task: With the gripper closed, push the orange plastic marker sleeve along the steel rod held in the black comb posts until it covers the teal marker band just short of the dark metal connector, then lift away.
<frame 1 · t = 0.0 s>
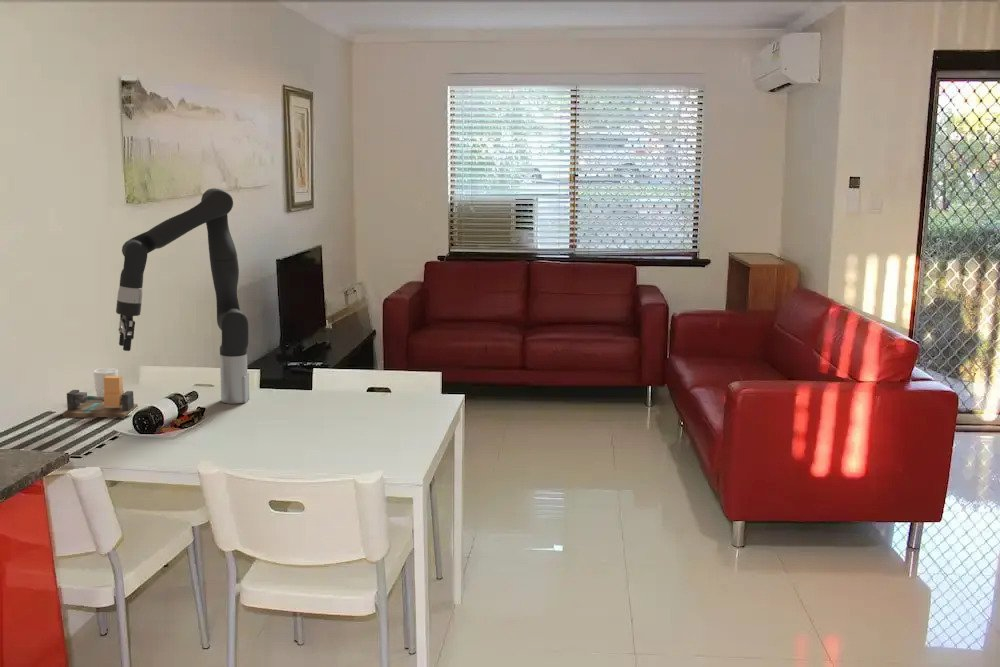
hand: (124, 348, 300), 22 cm above the table, tool pointing down, fingers open, 8 cm apart
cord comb: (101, 412, 303), on the table
white cup: (107, 398, 321), on the table
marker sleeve: (113, 390, 302), point 8 cm above the table, slide at 0.0 cm
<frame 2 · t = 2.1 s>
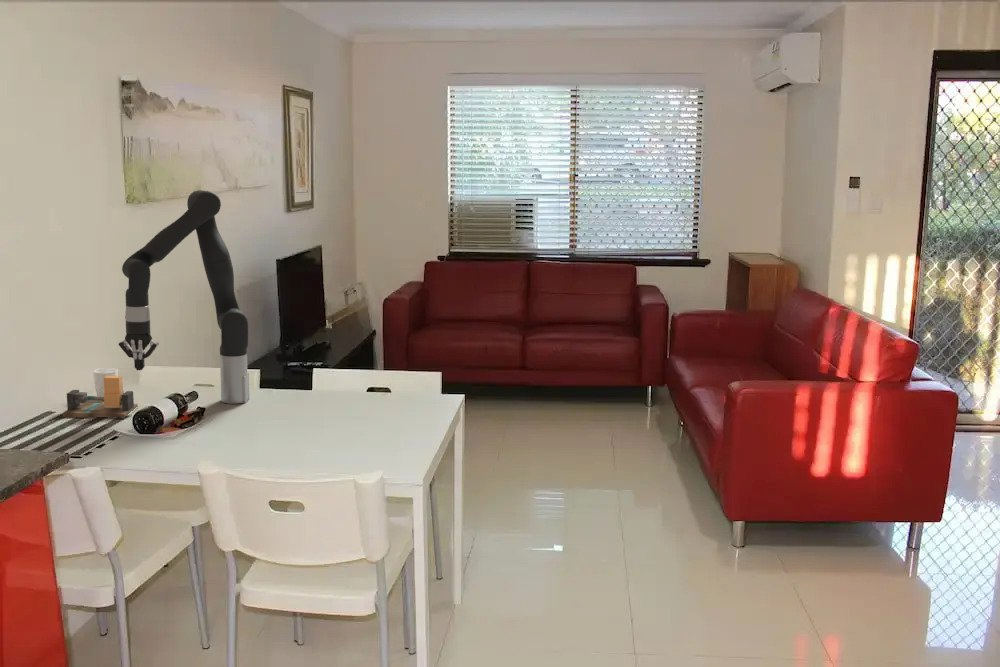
hand: (139, 369, 301), 15 cm above the table, tool pointing down, fingers closed
nothing on the table moved.
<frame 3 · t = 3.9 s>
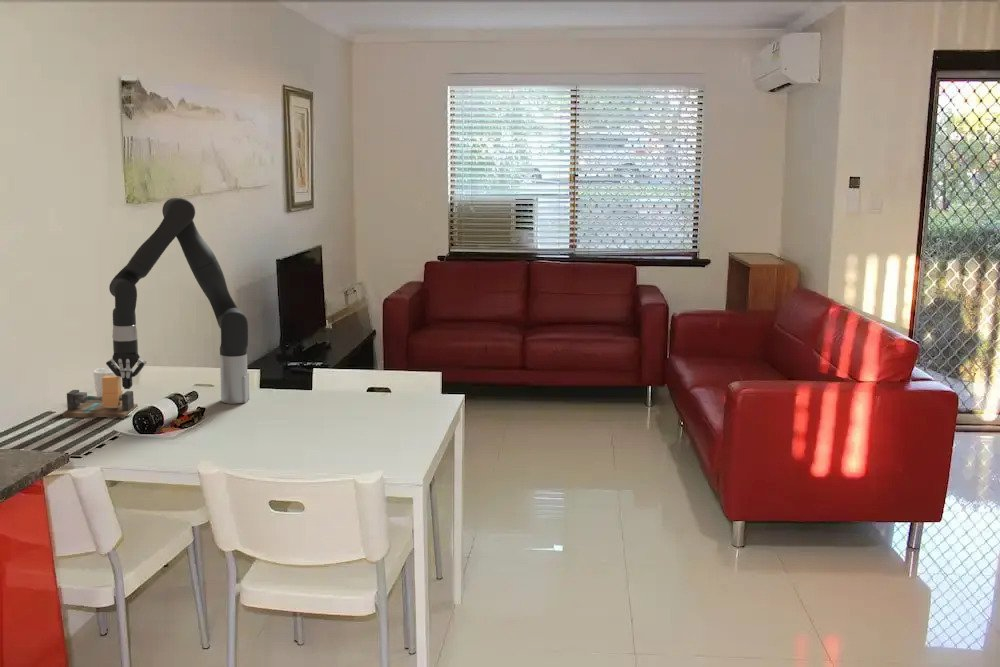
hand: (127, 388, 302), 9 cm above the table, tool pointing down, fingers closed
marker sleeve: (112, 390, 302), point 8 cm above the table, slide at 0.5 cm, touching gripper
everything else where it was.
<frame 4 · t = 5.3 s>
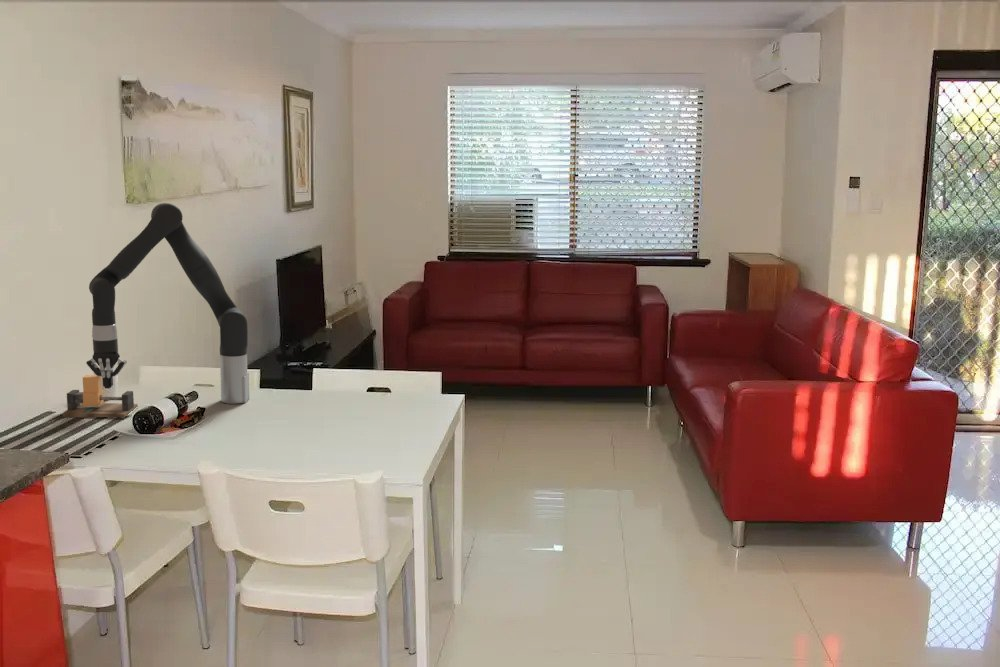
hand: (108, 387, 301), 9 cm above the table, tool pointing down, fingers closed
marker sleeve: (92, 390, 302), point 8 cm above the table, slide at 6.9 cm, touching gripper
everything else where it was.
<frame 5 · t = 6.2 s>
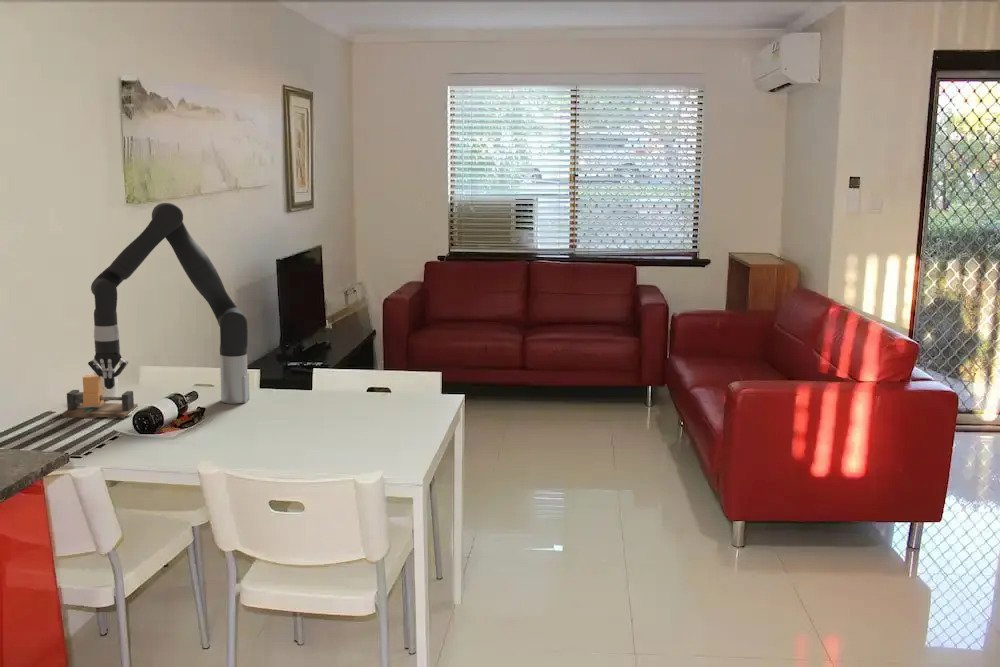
hand: (109, 388, 302), 8 cm above the table, tool pointing down, fingers closed
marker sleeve: (92, 390, 302), point 8 cm above the table, slide at 6.9 cm
everything else where it was.
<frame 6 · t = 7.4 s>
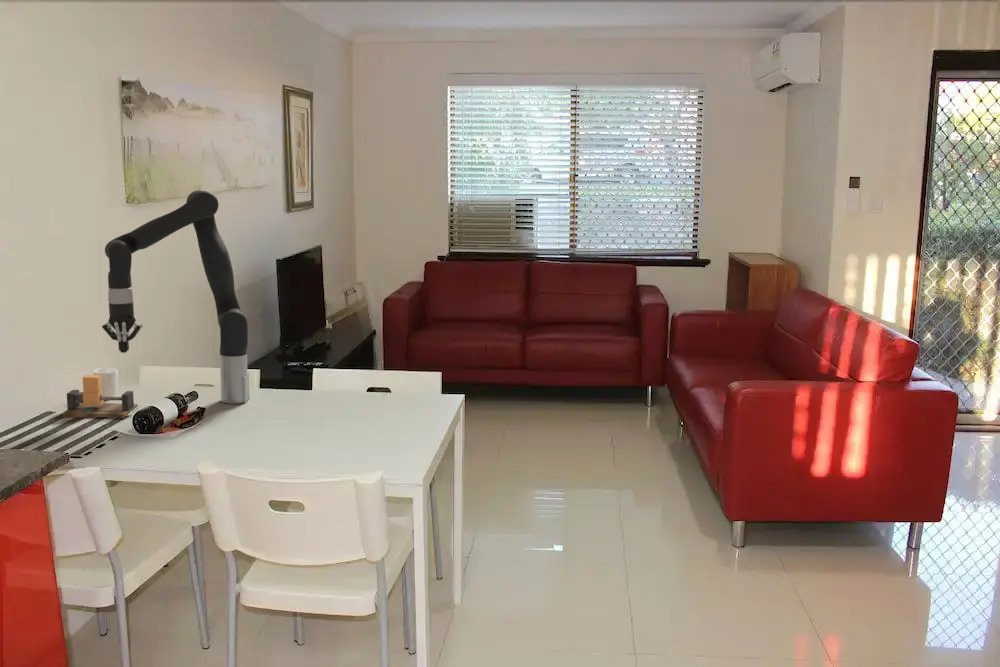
hand: (124, 352, 300), 21 cm above the table, tool pointing down, fingers closed
nothing on the table moved.
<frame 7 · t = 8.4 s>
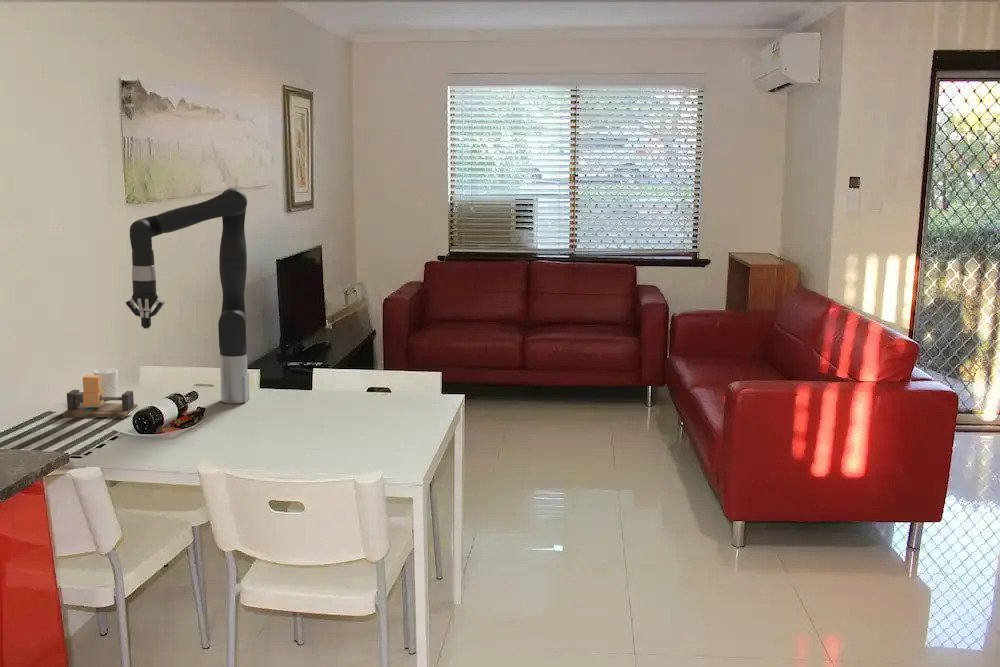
hand: (146, 328, 310), 27 cm above the table, tool pointing down, fingers closed
nothing on the table moved.
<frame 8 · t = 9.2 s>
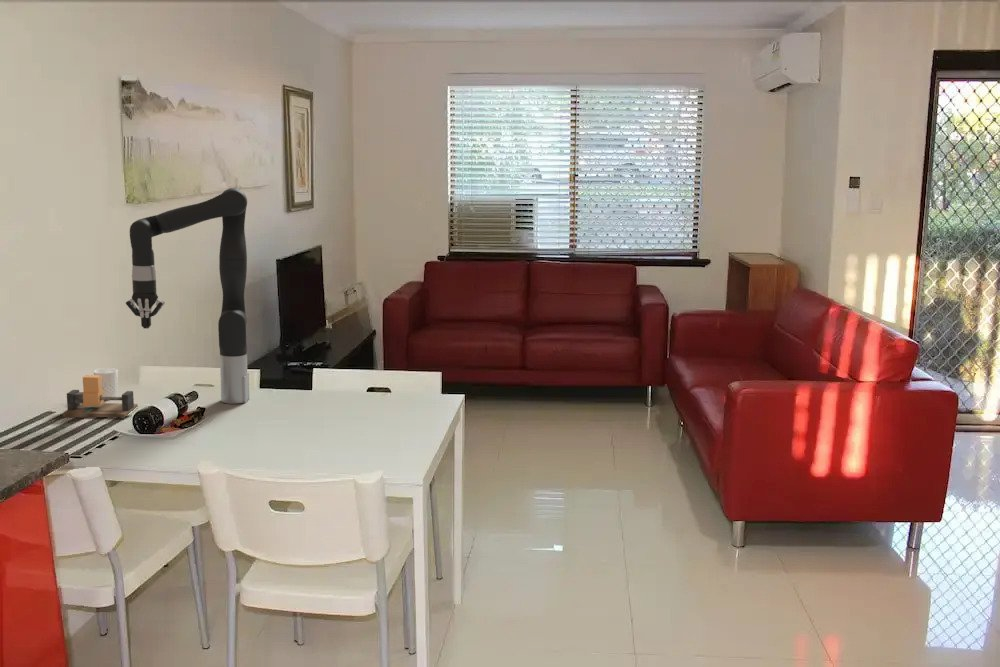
hand: (146, 328, 310), 27 cm above the table, tool pointing down, fingers closed
nothing on the table moved.
at the end: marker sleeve slide at 6.9 cm; white cup moved 0.2 cm from its start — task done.
